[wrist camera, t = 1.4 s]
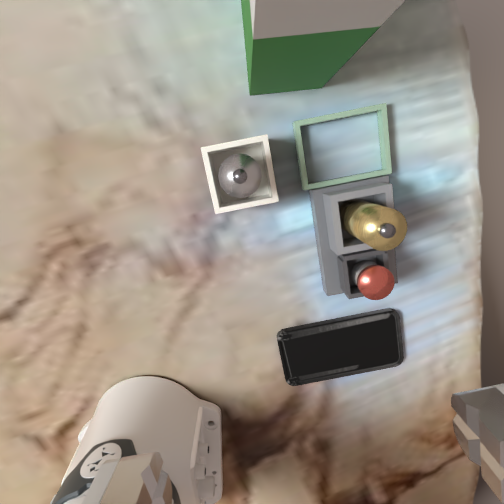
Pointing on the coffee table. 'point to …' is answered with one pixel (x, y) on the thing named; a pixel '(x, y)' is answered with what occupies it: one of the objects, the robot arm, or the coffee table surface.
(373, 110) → the pale green rectangular frame
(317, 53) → the hardback book
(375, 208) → the cell
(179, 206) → the coffee table surface
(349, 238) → the grey socket holder
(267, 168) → the white square bin
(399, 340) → the phone
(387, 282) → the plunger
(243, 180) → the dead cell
